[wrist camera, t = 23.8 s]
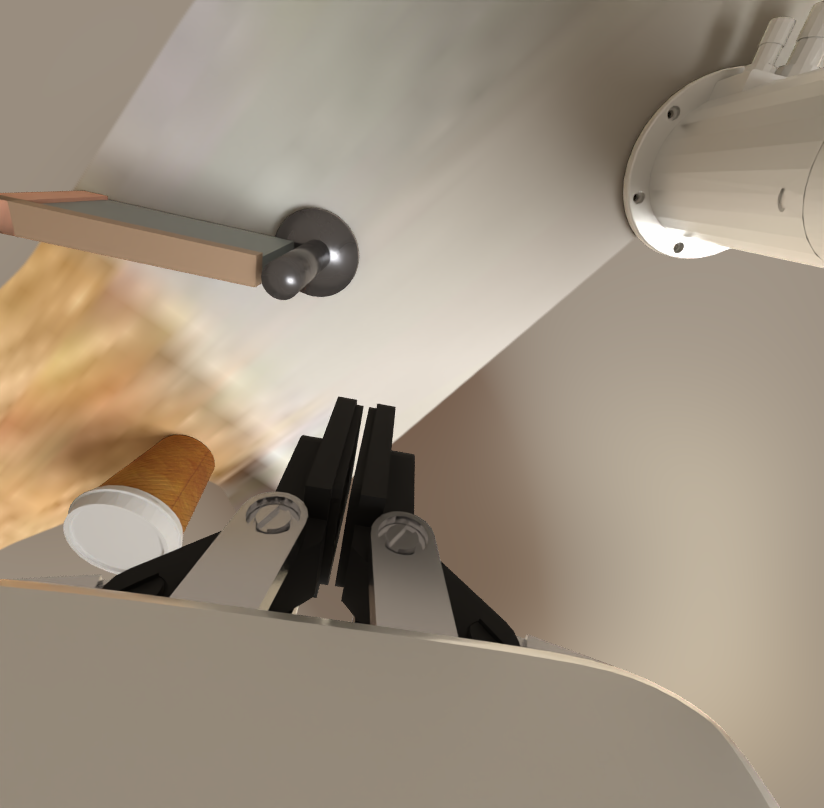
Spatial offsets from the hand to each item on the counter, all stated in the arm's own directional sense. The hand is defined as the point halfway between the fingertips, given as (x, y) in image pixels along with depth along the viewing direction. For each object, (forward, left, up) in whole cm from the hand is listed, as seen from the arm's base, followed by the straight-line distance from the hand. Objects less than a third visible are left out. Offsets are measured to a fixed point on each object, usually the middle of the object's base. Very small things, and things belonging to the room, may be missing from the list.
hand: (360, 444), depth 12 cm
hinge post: (0, -7, -27) cm, 28 cm away
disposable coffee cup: (+25, -19, -27) cm, 41 cm away
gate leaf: (0, -17, -26) cm, 31 cm away
